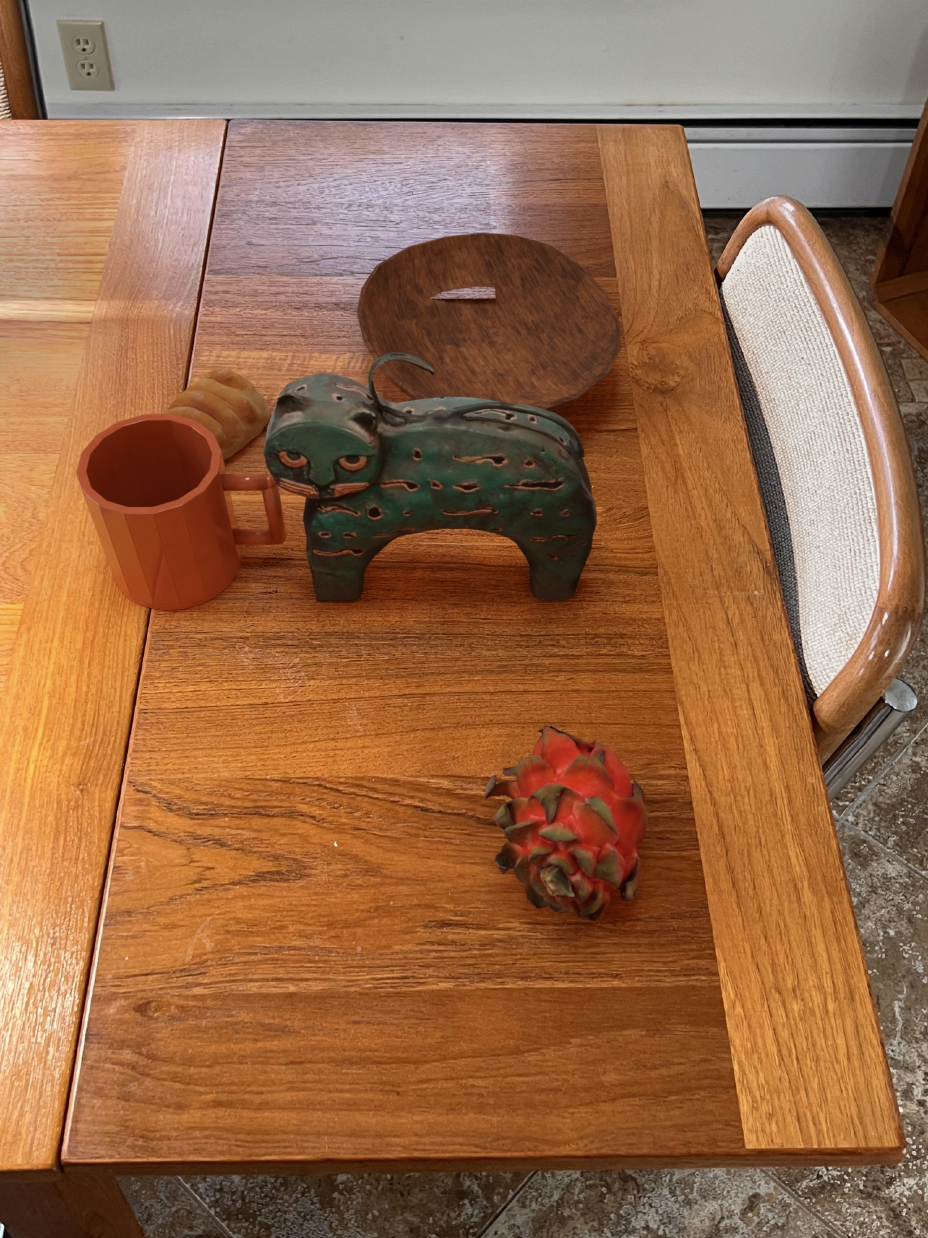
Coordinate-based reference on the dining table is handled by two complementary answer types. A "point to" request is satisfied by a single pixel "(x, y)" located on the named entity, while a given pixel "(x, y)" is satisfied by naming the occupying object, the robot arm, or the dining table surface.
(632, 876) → the dragon fruit
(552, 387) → the bowl
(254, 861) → the dining table surface
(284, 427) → the ceramic cat
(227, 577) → the mug
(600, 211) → the dining table surface
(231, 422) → the pastry
